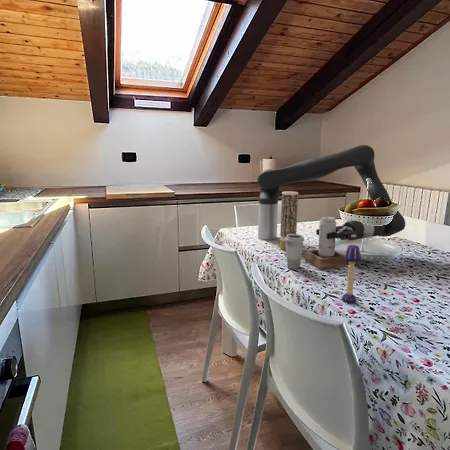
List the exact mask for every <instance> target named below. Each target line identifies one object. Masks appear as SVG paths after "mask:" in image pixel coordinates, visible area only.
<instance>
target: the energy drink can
mask: <svg viewBox="0 0 450 450" xmlns="http://www.w3.org/2000/svg"><path fill="white" fill-rule="evenodd" d="M335 219H336V218H335V217H333V216H322V217H321V219H320V220H319V223H318V224H319V228H318V229H319V235H318V246H317V247H318V249H317V250H318V254H319V255H320V257H323V258H331V257H333V255H334V254H335V251H336V249H335V248H336V238H334V239H327V238H326V234H327V233H332V232H336V226H337V222H336V220H335Z"/></svg>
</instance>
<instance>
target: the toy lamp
mask: <svg viewBox="0 0 450 450" xmlns="http://www.w3.org/2000/svg"><path fill="white" fill-rule="evenodd" d="M344 255H345V256H344V259H345V260H347V261H348V265H347V266H348V271H347V280H346V281H347V285H346V293H344V294H342V296H341V301H342V300H343V301H342V302H344V303H346V302H348V303H347V304H355V303H356V302H358V301H357V297H356V296H355V295H354V294H353V293H354V291H353V290H354V283H355V282H354V279H355V269H356V266H355V264H356V263H357V262H360V261H362V254H361V251H360V247H359V246H358V245H357V244H356V245H355V244H349V245H348V246H347V248H346V251H345V254H344Z"/></svg>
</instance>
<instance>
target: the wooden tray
mask: <svg viewBox="0 0 450 450" xmlns="http://www.w3.org/2000/svg"><path fill="white" fill-rule="evenodd" d="M304 252H305V253H304V255H305V256H304V261H305V262H306V263H308V264H310V265H311V266H313V267H315V268H317V269H318V270H320V271H325V270H332V269H339V268H346V267H347V260H345V259H344V256H345V254H342V253H340V252H338V251H336V250H335V254H334V255H333V257H331V258H323V257H320V255H319V254H318V249H313V250H306V251H304Z"/></svg>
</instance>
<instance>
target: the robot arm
mask: <svg viewBox="0 0 450 450" xmlns="http://www.w3.org/2000/svg"><path fill="white" fill-rule="evenodd" d="M350 167H354V169H355V170H356V172H357V173H358V175H359V176H360V178H361V180H362V182H363V184H364V186H365V188H366V191H367V194H368V196H369V199H370V201H371V200H373V201H374V200H376V199H377V198H379V197H381V198H385V199H386V200H387V201H389V202H392V199H391V196H390V195H389V193H388V191H387V188H386V187H385V185H384V184H383V183H382V181H381V178H380V177H379V175H378V173H377V169H376V165H375V151H374V149H373V148H372V147H371V146H370V145H367V144H360V145H357V146H353V147H351V148H349V149H345V150H343V151H340V152H336V153H331V154H326V155H323V156H317V157H313V158H309V159H306V160H305V159H304V160H303V161H299V162H296V163H294V164H291V165H289V166H286V167H283V168H277V169H273V168H271V169H270V168H269V169H265V170H262V171H261V172H260V173H259V174H258V177H257V178H256V180H257V181H256V182H257V184H258V186H259V187H260V193H259V196H258V219H257V220H258V221H257V227H258V228H257V236H258V239H261V240H265V241H266V240H268V241H269V240H275V239H277V238H278V215H279V213H278V212H279V209H278V208H279V197H280V187H281V186H284V185H287V184H292V183H299V182H300V183H301V182H307V181H313V180H316V179H321V178H325V177H327V176H329V175H331V174H332V173H334V172H337V171H339V170H341V169H345V168H350ZM367 178H371V179H372V181H371V182H372V183H371V187H370V189H369V190H368V189H367V181H366V179H367ZM405 227H406V220H405V218H404V216H403V215H402V214H401V212H399V210H398V211H397V213H396V214H395V215H394V216H393V219H392V221H391V222H390V223H389V224H387V225H383V226H371V225H366V224H363V223H361V222H358V221H354V220H348V221H345V223H343V225H336V232H332V233H327V234H326V238H327V239H334V238H335V240H338V239H340V240H341V241H344V240H348V241H358V240H363V239H368V238H374V237H381V238H382V237H383V238H384V237H391V236H393V235H395V234H397V233H400V232H402V231H403V230H404V229H405ZM315 232H316V235H317V236H319V228H316V231H315Z"/></svg>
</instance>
